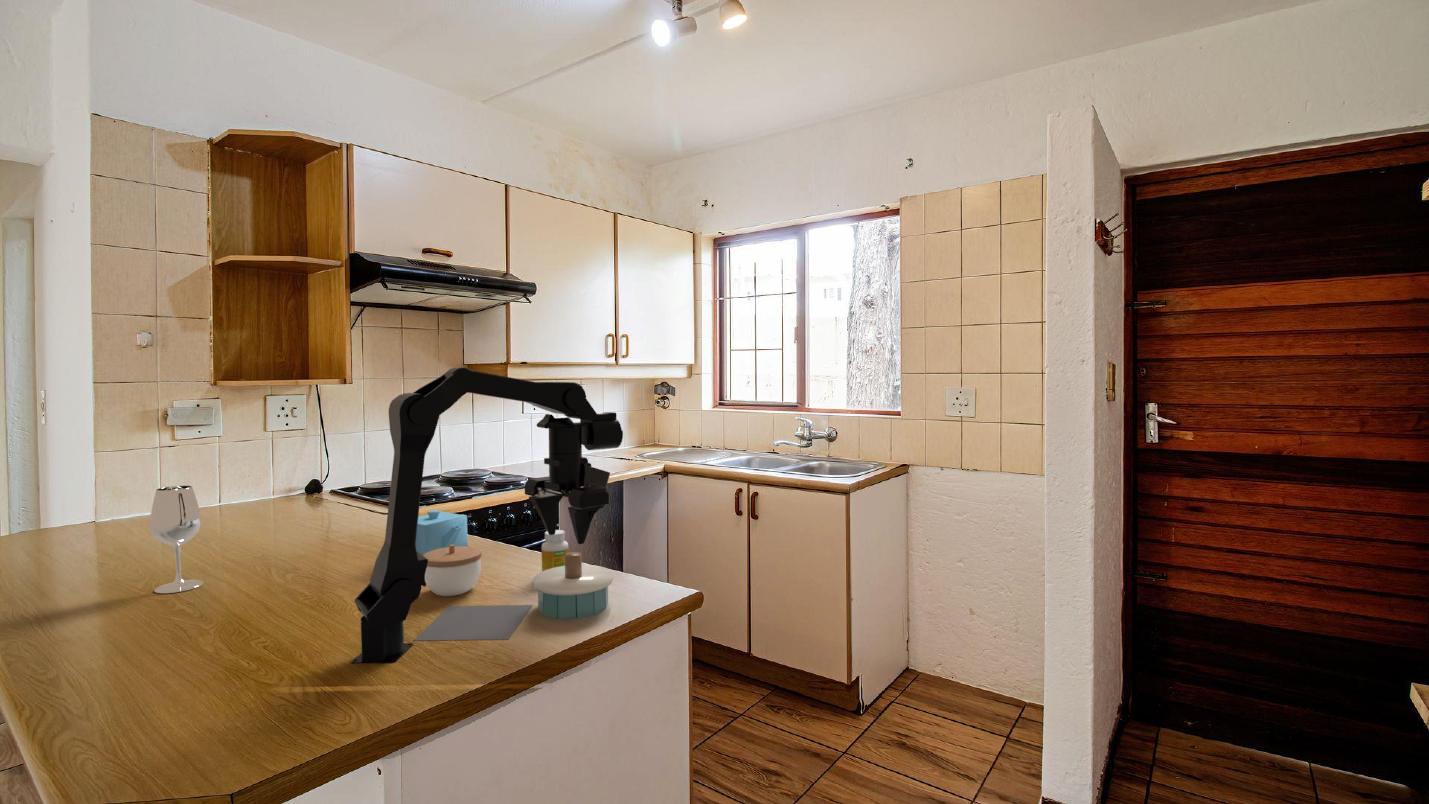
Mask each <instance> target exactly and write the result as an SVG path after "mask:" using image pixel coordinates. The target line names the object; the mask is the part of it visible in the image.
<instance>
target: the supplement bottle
mask: <svg viewBox="0 0 1429 804" xmlns="http://www.w3.org/2000/svg"><path fill="white" fill-rule="evenodd" d="M565 536H566V532H565V530H563V529H556V531H555V534H554V535H549V533H548V531H547V530H546V531H545V532H544V540H545V542H543V543H542V544H541V572H542V571H545V570H548V569H551V568H555V567H560V566H565V554H566V553H570V552H569V543H568V542H567V541H566V540H565V539H566V538H565Z"/></svg>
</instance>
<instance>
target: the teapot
mask: <svg viewBox="0 0 1429 804" xmlns="http://www.w3.org/2000/svg"><path fill="white" fill-rule="evenodd" d="M426 513H427V514H423V515H418V525H417V534H416V551H417V552H419V553H420V554H421V555H424V554H425V553H427V552H430V551H433V550H436V549H440V548H446V547H449V545H452V544H453V545H455V546H469V545H468V544H469V543H468V542H469V541H468V539H469V537H468V515H467V514H458V513H453V512H448V511H447V512H446V511H443V510H442V511H440V510H439V509H433V510H432V509H431V510H429V511H427V512H426Z"/></svg>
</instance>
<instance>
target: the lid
mask: <svg viewBox="0 0 1429 804" xmlns="http://www.w3.org/2000/svg"><path fill="white" fill-rule="evenodd" d="M582 558H583V556H582V552H577V551H571V552H569V553H566V554H565V566H560V567H555V568H551V569H548V570H545V571H542V570H541V571H540V572H538V573H537V574H536V575H535V576H533V579H532V580H533V581H532V584H533V585H532V586H533V588H534V589H535V591H537V592H538V591H539V592H542V593H546V594H552V595H578V594H585V593H590V592H594V591H598V590H601V589H603V588H605V587H607V586H608V587H609V586H610V585H611V584H612V583H613V580H614V574H613V571H612V570H611V569H609V568H607V567H604V566H600V565H593V564H583V562H582Z"/></svg>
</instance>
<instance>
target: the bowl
mask: <svg viewBox="0 0 1429 804" xmlns="http://www.w3.org/2000/svg"><path fill="white" fill-rule="evenodd" d="M537 598H538V599H537V600H538V601H537V603H538V606H537V607H538V608H537V609H538V611H539V612H540V613H541V614H542V615H543V616H544V617H549V618H553V619H559V620H560V619H561V620H562V619H567V620H570V619H580V618H584V617H591V616H594V615H596V614H598V613H600V612H602V611H604V610H606V609H607V606H608V604H609V586H607V587H605V588H603V589H601V590H598V591H594V592H590V593H585V594H578V595H552V594H546V593H542V592H539V591H537Z"/></svg>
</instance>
